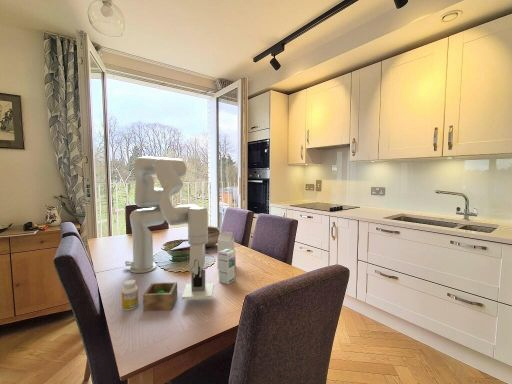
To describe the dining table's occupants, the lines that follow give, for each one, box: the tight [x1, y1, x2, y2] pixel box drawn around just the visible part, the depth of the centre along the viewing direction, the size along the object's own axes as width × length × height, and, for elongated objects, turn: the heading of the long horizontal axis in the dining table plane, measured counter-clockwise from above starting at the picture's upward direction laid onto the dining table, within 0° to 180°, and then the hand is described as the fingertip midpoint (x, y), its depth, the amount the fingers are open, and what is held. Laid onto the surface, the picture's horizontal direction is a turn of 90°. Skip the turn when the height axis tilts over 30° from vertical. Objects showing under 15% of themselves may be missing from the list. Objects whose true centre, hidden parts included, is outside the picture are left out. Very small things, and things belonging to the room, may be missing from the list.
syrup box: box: [218, 249, 237, 285], centre depth 115 cm, size 6×6×14 cm
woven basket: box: [205, 225, 221, 249], centre depth 168 cm, size 25×19×12 cm
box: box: [142, 281, 178, 312], centre depth 95 cm, size 10×10×6 cm
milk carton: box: [217, 231, 235, 269], centre depth 132 cm, size 7×7×19 cm
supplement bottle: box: [121, 279, 139, 311], centre depth 92 cm, size 5×5×10 cm
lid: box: [181, 268, 214, 301], centre depth 97 cm, size 11×11×8 cm
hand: (198, 284), depth 97 cm, fingers closed on lid, 3 cm apart
